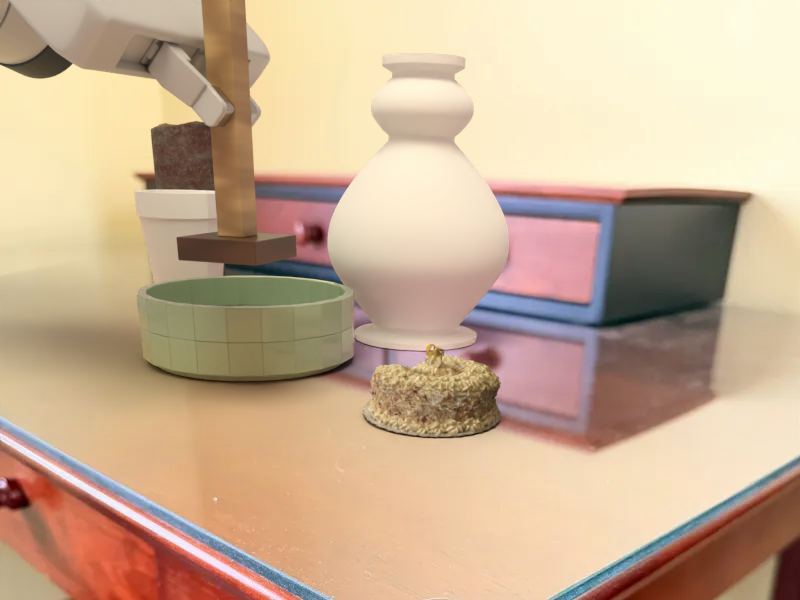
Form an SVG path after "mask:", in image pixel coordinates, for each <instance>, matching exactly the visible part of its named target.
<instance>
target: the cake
mask: <svg viewBox="0 0 800 600" xmlns="http://www.w3.org/2000/svg"><path fill="white" fill-rule="evenodd" d="M432 346H434V350H433V351H430V349H431V347H432ZM445 353H446V352H445V350H444V349H441V348H438V347H436V346H435V345H434V344H430V345H428V346H427V348H426V351H425V354H426V355H425V357H424V361H423V362H418V363H417V365H414V366H412V367H410V366H408V365H406V366H403V364H402V363H401V364H400V363H399V364H397V363H392V364H389V365H388V364H384V365H383V364H380V365H379V366H376V368H374V371H373V372H372V376H371V379H369V382H370V389H369V392H370V394H371V397H372V398H371V399H370V400H369V401H368V402H367V403H366V404H365V406H363V409H362V412H363V416H364V417H365V418H366V420H367V421H369V422H370V423H371V424H372V425H375V426H376V427H378V428H381V429H385V430H386V431H389V432H394V433H398V434H404V435H409V436H416V437H417V436H419V437H421V438H422V437H423V438H428V437H431V438H432V437H434V438H443V437H445V438H451V437H452V438H455V437H463V436H468V435H469V436H471V435H474V434H475V435H476V434H477V433H484V432H485V431H488V430H490V429H491V428H492V427H496V425H497V424H498V423H500V419H501V418H502V417H501V414H502V412H501V411H500V409H499V407H498V404H497V398H496V397H497V396H498V392H499V389H500V388H501V384H502V381H500V376H498V375H497V374H496V373H495V371H493V370H492V368H490V366H489V365H486V364H484V363H481V362H477V361H475V360H470V359H468V360H467V359H465V357H461V356H454V355H449V354H445Z"/></svg>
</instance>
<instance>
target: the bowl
mask: <svg viewBox="0 0 800 600" xmlns="http://www.w3.org/2000/svg"><path fill="white" fill-rule="evenodd" d="M136 301H137V311H138V321H139V329H140V338H141V348H142V355H143V356H142V357H143V359H144V360H146V361H147V362H148V363H150V364H151V365H153V366H156V367H158V368H159V369H160V370H163V371H165V372H167V373H170V374H172V375H176V376H181V377H186V378H191V379H198V380H208V381H221V382H267V381H269V382H270V381H280V380H289V379H290V380H291V379H298V378H303V377H309V376H314V375H319V374H322V373H325V372H329V371H332V370H334V369H336V368H338V367H340V366H341V365H342V364H344V363H345V362H347V361H349V360H350V359H352V358H353V357H354V353H355V299H354V290H353V289H351V288H350V287H348V286H345V285H344V284H343V283H338V282H335V281H329V280H322V279H316V278H305V277H294V276H280V275H279V276H277V275H225V276H210V277H196V278H185V279H176V280H169V281H162V282H158V283H154V282H153V283H149V284H145V285H144V286H142V287H139V288H138V289H136Z"/></svg>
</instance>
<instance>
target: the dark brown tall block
mask: <svg viewBox="0 0 800 600" xmlns="http://www.w3.org/2000/svg"><path fill="white" fill-rule="evenodd" d="M150 139H151V140H150V141H151V149H152V161H153V171H154V182H155V190H207V191H215V186H214V172H213V158H212V144H211V130H210V127H209V126H207V125H206V124H205V123H204V122H203V121H199V120H195V121H188V122H184V123H179V124H171V123H167V122H165V123H160V124H158V125H156V126H154V127H152V128H150ZM225 265H226V264H225V263H224V269H223V276H226V266H225Z"/></svg>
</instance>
